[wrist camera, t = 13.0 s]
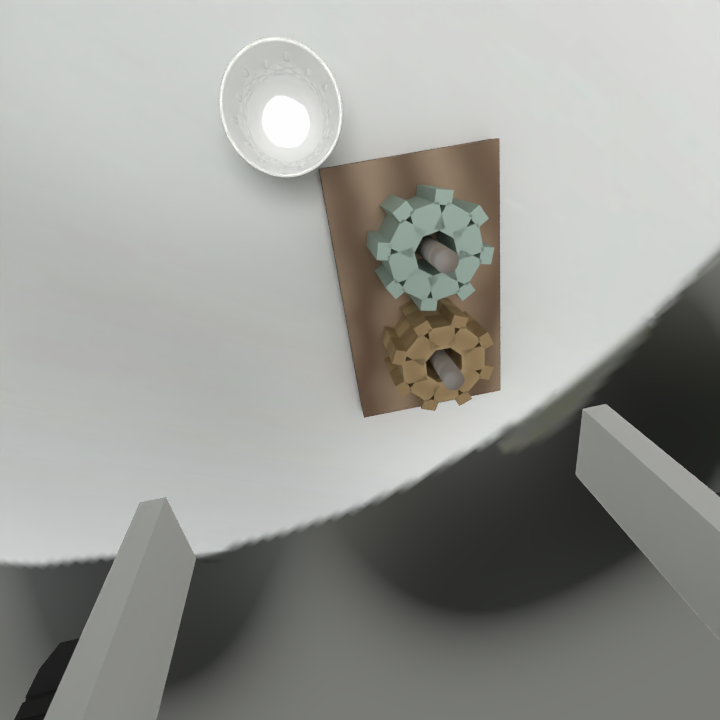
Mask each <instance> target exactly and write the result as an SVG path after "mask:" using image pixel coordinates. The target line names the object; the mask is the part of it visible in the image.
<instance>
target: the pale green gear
mask: <svg viewBox="0 0 720 720" xmlns="http://www.w3.org/2000/svg"><path fill="white" fill-rule="evenodd" d="M453 192H454V190H450V189H446V188H441V187H437V186H432V185H417V191H416V196H415V197H412V198H410V199H407V200H404V199H402V198H399V197H397V196H395V195H392V194H391V195H390V196H389V197H388V198H387V199H386V200H385V201H384V202H383V203H382V204H381V205H380V206H381V207H382V209H383V210H384V211H385V212H386V216H385V218H384V220H383V222H382V224H381V226H380V228H379V230H378V231H368V233H367V247H368V249H369V250H370V252H371V253H372V254H373V256H374V257H375V258H376V260H381V262H382V264H381V265H380V266H379V267H378V268H377V269H376V270H375V272H376V273H377V275H378V277H379V278H380V280H381V281H382V283H383V284H384V286H385V288H386V289H387V290H388V291H389V292H390V293H391V294H392V295H393V297H394V298H395V299H397V298H398V297H399V296H400V295H401V294H403V293H404V292H406V293H407V294H408V295H409V296H410V297H411V299H412V300H413V301H414V303H415V304H416V305H417V307H418V308H419V309H420V310H423V311H436V308H437V301H438V300H439V299H442V298H445V297H447V296H450V295H453V294H455V295H456V296H458V297H459V298H460V299H461V300H462V301H463V300H465V299H466V298H467V297H468V296H469V295H471V294H472V293H473V292H474V291H475V289H474V288H473V286H472V285H471V284H470V283H469V282H470V280H471V279H472V277H473V275H474V274H475V272H476V270H477V268H478V267H479V265H480V264H491V262H492V257H493V252H494V247H492V246H490V245H488V244H486V243H484V242H482V238H481V233H480V228H479V227H480V226H481V225H482V224H483V223H484V222H485V221H487V220H488V219H489V218H488V216H487V215H486V214H485V212H484V211H483V209H482V208H481V206H480V205H478V204H475V203H471V202H467V201H464V200H460V199H456V198H455V199H453ZM452 199H453V200H452ZM434 232H435V236H436V240H437V241H438V242H440V243H441V244H443V245H445V246H446V247H448V248H450V249H451V250H453V251H454V252H456V253H457V255H458V257H459V264H458V266H457V268H456V269H455V270H454V271H453V272H451V273H448V274H444V273H441V272H440V271H438V270H437V269H436V268H435V267H434V266H432V265H431V264H430V263H429V262H428V261H426V260H425V259H424V258H421V259H418V260H416V257H415V251H416V249H417V247H418V245H419V243H420V241H421V239H422V237H424V236H426V235H429V234H432V233H434Z"/></svg>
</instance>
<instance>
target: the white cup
mask: <svg viewBox="0 0 720 720" xmlns="http://www.w3.org/2000/svg"><path fill="white" fill-rule="evenodd" d="M219 110H220V116H221V121H222V124H223V127H224V130H225V133H226V135H227V137H228V139H229V141H230V143H231V144H232V146H233V147H234V149H235V150H236V151H237V153H238V154H239V155H240V156H241V157H242V158H243V159H244V160H245V161H246V162H247V163H249V164H250V165H251V166H253V167H254V168H256V169H257V170H259V171H261V172H263V173H266V174H269V175H272V176H276V177H296V176H301V175H304V174H306V173H309V172H311V171H312V170H314V169H316V168H317V167H318V166H320V165H321V164H322V163H323V162H324V161H325V160H326V159H327V158H328V156H329V155H330V154H331V152H332V151H333V149H334V147H335V145H336V143H337V141H338V138H339V135H340V131H341V126H342V116H343V111H342V100H341V95H340V91H339V88H338V85H337V82H336V80H335V78H334V76H333V74H332V72H331V70H330V69H329V67H328V66H327V65H326V63H325V62H324V61H323V60H322V58H321V57H320V56H319V55H318V54H317V53H315V52H314V51H313V50H312V49H310V48H309V47H308V46H306V45H304V44H302V43H300V42H298V41H296V40H293V39H290V38H285V37H265V38H261V39H258V40H255V41H253V42H251V43H249V44H247V45H246V46H244V47H243V48H242V49H241V50H240V51H238V52H237V54H236V55H235V56H234V57H233V58H232V60H231V61H230V63H229V64H228V66H227V68H226V70H225V72H224V75H223V78H222V81H221V85H220V92H219Z"/></svg>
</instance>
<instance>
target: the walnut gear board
mask: <svg viewBox="0 0 720 720" xmlns="http://www.w3.org/2000/svg"><path fill="white" fill-rule="evenodd" d="M319 172H320V178H321V183H322V189H323V194H324V200H325V205H326V211H327V217H328V222H329V228H330V233H331V239H332V244H333V250H334V255H335V261H336V267H337V272H338V278H339V283H340V289H341V294H342V300H343V305H344V311H345V317H346V322H347V328H348V333H349V339H350V344H351V350H352V355H353V361H354V367H355V372H356V378H357V383H358V389H359V394H360V400H361V405H362V410H363V414H364V417H369V416H374V415H379V414H384V413H389V412H394V411H399V410H404V409H409V408H414V407H419V406H420V404H419V402H418V400H417V397H416V395H415V394H414V393H412V392H410V393H409V394H407V395H405V396H403V397H402V396H401V394H400V393H399V391H398V390H397V388H396V387H395V384H394V382H393V379H392V377H391V374H390V372H389V370H388V367H387V365H386V362H385V360H384V359H385V358H387V357H389V355H388V353H387V350H386V348H385V346H384V343H383V341H382V339H381V338H382V334H383V331H384V327H385V326H387V327H392V328H394V327H395V325H396V324H397V323H398V322H399V320H400V319H401V318H402V316H403V315H404V314H403V312H402V310H401V309H400V306H402V305H404V304H405V303H407V302H409V301H410V300H412V299H411V297H410V296H409V295H408V294H407V293H406V292H404V293H403V294H401V295H400V296H399V297H398V298H397V299H395V298H394V297H393V295H392V294H391V293H390V292H389V291H388V290H387V289H386V288H385V286H384V284H383V283H382V281H381V280H380V278H379V277H378V275H377V273H376V272H375V270H376V269H377V268H378V267H379V266H380V265H381V264H382V262H381V260H376V258H375V257H374V256H373V254H372V253H371V252H370V250H369V249H368V247H367V233H368V231H378V230H379V228H380V226H381V224H382V222H383V220H384V218H385V216H386V212H385V211H384V210H383V209H382V207H381V206H380V205H381V204H382V203H383V202H384V201H385V200H386V199H387V198H388V197H389V196H390V195H391V194H392V195H395V196H397V197H399V198H402V199H404V200H407V199H410V198H412V197H415V196H416V191H417V185H432V186H437V187H441V188H446V189H450V190H454V192H453V199H455V198H456V199H460V200H464V201H467V202H471V203H475V204H478V205H480V206H481V208H482V209H483V211H484V212H485V214H486V215H487V216H488V218H489V219H488V220H487V221H485V222H484V223H483V224H482V225H481V226H480V227H479V228H480V233H481V238H482V242H484V243H486V244H488V245H490V246H492V247H494V252H493V257H492V262H491V264H480V265H479V267H478V268H477V270H476V272H475V274H474V275H473V277H472V279H471V280H470V282H469V283H470V284H471V285H472V286H473V288H474V289H475V291H474V292H473V293H472V294H471V295H469V296H468V297H467V298H466V299H465V300H463V301H462V300H461V299H460V298H459V297H458V296H456V295H455V294H453V295H450V296H447V297H446V298H449V299H450V300H451V301H452V302H453V303H454V304H455V305H456V306H457V307H458V308H459V309H460V310H461V311H462V312H464V311H466V312H467V313H468V314H469V315H470V316H471V317H472V318H473V319H474V320H476V321H477V322H478V323H479V324H480V325H481V326H482V327H483V328H484V329H485V330H486V331H487V332H488V333H489V335H490V337H491V339H492V341H493V343H494V344H493V345H491V346H489V347H488V348H486V349H485V358H486V359H487V360H488V361H489V362H490V363H491V364H492V365H493V366H494V369H493V371H492V373H491V376H490V378H489V380H486V379H479V380H478V381H477V382H476V383H475V384H474V385H473V387H472V388H471V389H470V390H469V391H468V393H469V394H470V396H474V395H479V394H484V393H489V392H494V391H499V390H500V173H499V138H498V139H488V140H483V141H477V142H471V143H465V144H460V145H454V146H448V147H442V148H437V149H431V150H425V151H419V152H414V153H408V154H402V155H396V156H391V157H385V158H379V159H373V160H367V161H362V162H356V163H350V164H344V165H339V166H333V167H327V168H321V169H319ZM453 199H452V200H453ZM415 257H416V260H418V259H421V258H424V259H425V260H426V261H428V262H429V263H430V264H431V265H432V266H434V267H435V268H436V269H437V270H438V271H440V272H441V273H444V274H448V273H451V272H453V271H454V270H455V269H456V268H457V266H458V264H459V257H458V255H457V253H456V252H454V251H453V250H451V249H450V248H448V247H446V246H445V245H443V244H441V243H440V242H438V241H437V240H436V236H435V232H434V233H432V234H429V235H426V236H424V237H422V239H421V241H420V243H419V245H418V247H417V249H416V251H415ZM412 301H413V300H412ZM413 302H414V301H413ZM414 304H415V303H414ZM415 305H416V304H415ZM416 306H417V305H416ZM429 361H430V362H431V364H432V365H433V367H434V369H435V370H436V372H437V373H438V375H439V377H440V378H441V380H442V382H443V383H444V385H445V386H446V388H448V389H449V390H457V389H459V388H460V387H461V386H462V385H463V384H464V381H465V378H464V376H463V374H462V373H461V371H460V370H459V369H458V367H457V366H456V365H455V363H454V362H453V361H452V359H451V358H450V357H449V355H448V354H447V352H446V351H445V350H444V349H441V350H436V351H435V352H434V353H433V354H432V355H431V357H430V358H429ZM452 400H454V399H452ZM447 401H449V400H447ZM442 402H444V401H442ZM438 403H439V402H438Z"/></svg>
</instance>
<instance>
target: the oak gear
mask: <svg viewBox="0 0 720 720" xmlns="http://www.w3.org/2000/svg"><path fill="white" fill-rule="evenodd" d="M400 309H401V310H402V312H403V314H404V315H403V316H402V318H401V319H400V320H399V322H398V323H397V324H396V325H395V327H394V328H392V327H387V326H385V327H384V331H383V334H382V338H381V339H382V341H383V343H384V346H385V348H386V350H387V353H388V355H389V357H387V358H385V359H384V360H385V362H386V365H387V367H388V370H389V372H390V374H391V377H392V379H393V382H394V384H395V387H396V388H397V390H398V391H399V393H400V394H401V396H402V397H403V396H405V395H407V394H409V393H410V392H412V393H414V394H415V395H416V397H417V400H418V402H419V404H420V406H421V408H422V409H427V410H434V411H435V410H436V407H437V404H438V402H442V401H447V400H452V399H455V400H456V401H457V403H458V404H459V406H460V405H462V404H463V403H465V402H467V401H469V400H470V399H472V398H471V396H470V394H469V393H468V391H469V390H470V389H471V388H472V387H473V385H474V384H475V383H476V382H477V381H478V380H479V379H486V380H489V378H490V376H491V373H492V371H493V369H494V366H493V365H492V364H491V363H490V362H489V361H488V360H487V359H486V358H485V349H486V348H488V347H489V346H491V345H493V344H494V343H493V341H492V339H491V337H490V335H489V333H488V332H487V331H486V330H485V329H484V328H483V327H482V326H481V325H480V324H479V323H478V322H477V321H476V320H474V319H473V318H472V317H471V316H470V315H469V314H468V313H467V312H466V311H464V312H462V311H461V310H460V309H459V308H458V307H457V306H456V305H455V304H454V303H453V302H452V301H451V300H450V299H449V298H446V297H445V298H442V299H439V300H438V301H437V308H436V311H423V310H420V309H419V308H418V307H417V306H416V305H415V304H414V302H413V301H412V300H410V301H409V302H407V303H405V304H404V305H402V306H400ZM441 349H444V350H445V351H446V352H447V354H448V355H449V357H450V358H451V359H452V361H453V362H454V363H455V365H456V366H457V367H458V369H459V370H460V371H461V373H462V374H463V376H464V378H465V381H464V384H463V385H462V386H461V387H460V388H459V389H457V390H449V389H448V388H446V386H445V385H444V383H443V382H442V380H441V378H440V377H439V375H438V373H437V372H436V370H435V369H434V367H433V365H432V364H431V362H430V361H429V358H430V357H431V355H432V354H433V353H434V352H435V351H436V350H441Z"/></svg>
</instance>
